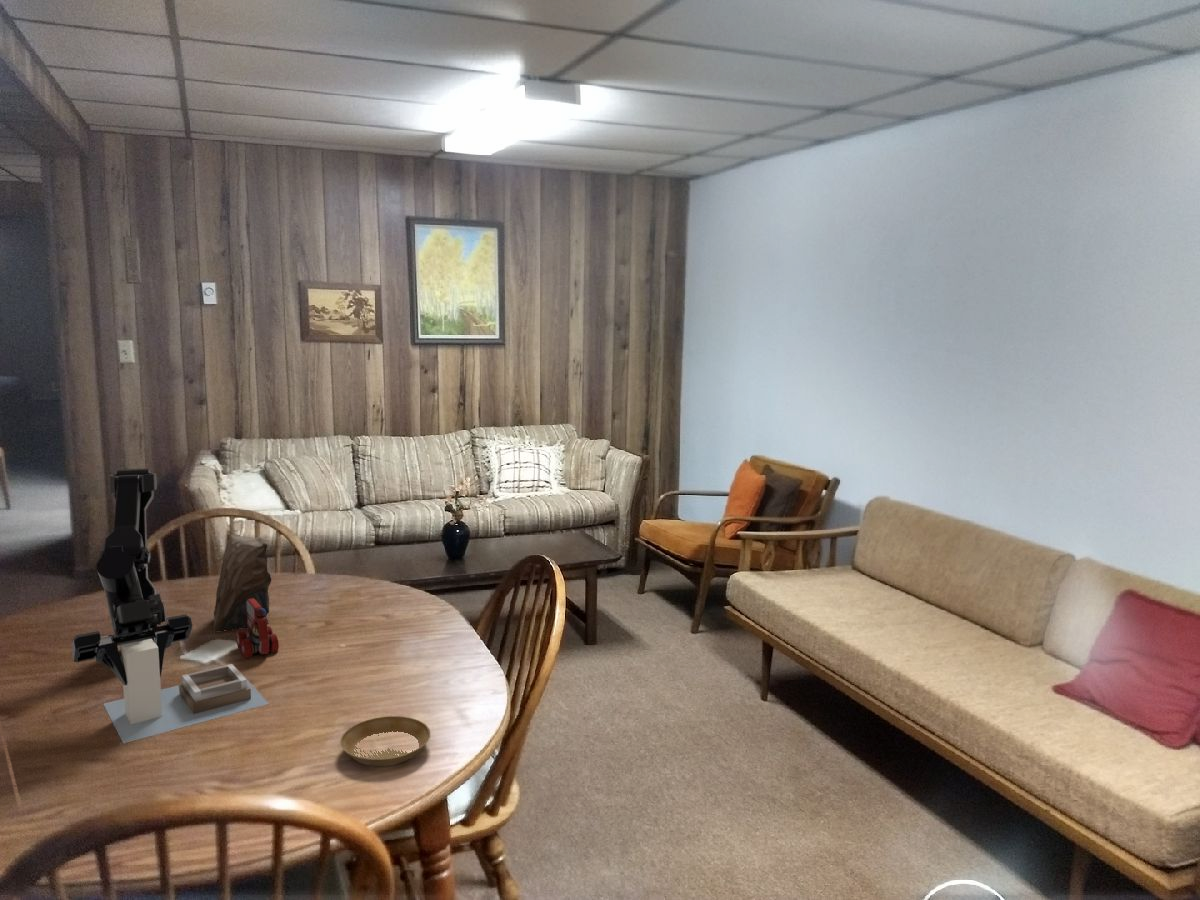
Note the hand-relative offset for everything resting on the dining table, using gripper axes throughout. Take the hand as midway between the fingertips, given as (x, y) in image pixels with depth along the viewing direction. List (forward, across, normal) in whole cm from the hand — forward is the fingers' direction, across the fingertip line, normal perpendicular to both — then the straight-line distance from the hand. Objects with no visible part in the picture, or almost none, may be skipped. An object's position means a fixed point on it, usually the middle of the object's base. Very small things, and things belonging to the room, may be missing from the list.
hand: (143, 680), depth 148 cm
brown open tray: (+4, +12, +6) cm, 14 cm away
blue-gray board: (+4, +7, +6) cm, 10 cm away
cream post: (+4, 0, +6) cm, 7 cm away
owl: (-22, +27, +33) cm, 48 cm away
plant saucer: (+30, +30, -19) cm, 46 cm away
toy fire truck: (-8, +26, +20) cm, 33 cm away
